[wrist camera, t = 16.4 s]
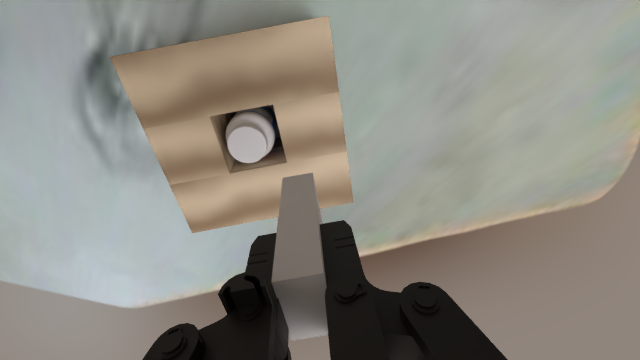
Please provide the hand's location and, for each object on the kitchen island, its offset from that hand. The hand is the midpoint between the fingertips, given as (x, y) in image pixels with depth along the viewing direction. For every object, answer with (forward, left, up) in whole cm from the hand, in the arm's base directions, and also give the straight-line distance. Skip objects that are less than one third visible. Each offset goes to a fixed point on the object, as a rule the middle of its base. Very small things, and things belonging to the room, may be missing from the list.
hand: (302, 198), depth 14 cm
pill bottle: (+2, -6, -26) cm, 26 cm away
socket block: (+2, -5, -27) cm, 27 cm away
